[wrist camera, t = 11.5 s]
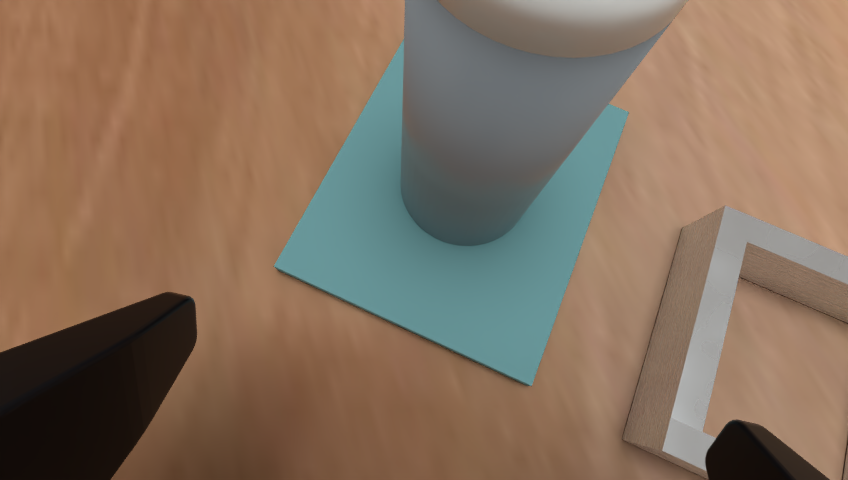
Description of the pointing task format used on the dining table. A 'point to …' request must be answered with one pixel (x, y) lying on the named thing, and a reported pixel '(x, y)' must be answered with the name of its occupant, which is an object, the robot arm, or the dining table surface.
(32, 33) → the dining table surface
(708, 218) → the collar
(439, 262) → the mat
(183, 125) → the dining table surface
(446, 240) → the ball
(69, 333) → the robot arm
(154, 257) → the dining table surface
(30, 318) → the dining table surface
